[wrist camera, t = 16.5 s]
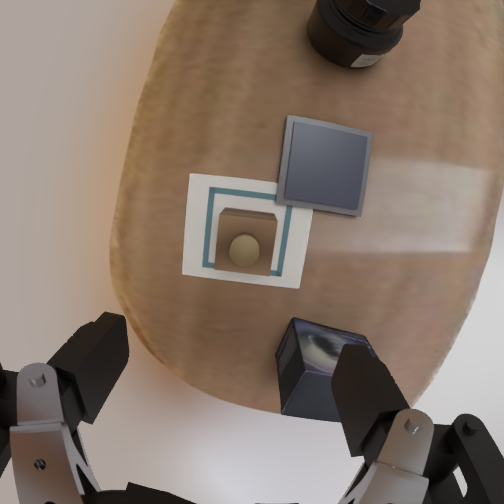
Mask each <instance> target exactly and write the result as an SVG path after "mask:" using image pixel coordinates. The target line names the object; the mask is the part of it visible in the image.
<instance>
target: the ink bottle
mask: <svg viewBox="0 0 504 504" xmlns="http://www.w3.org/2000/svg"><path fill="white" fill-rule="evenodd" d="M420 1H421V0H317V1H316V3H315V6H314V9H313V11H312V14H311V16H310V19H309V22H308V26H307V33H308V38H309V40H310V43H311V44H312V46H313V47H314V48H315V50H316V51H317V52H318V53H319V54H320V55H322V56H323V57H324V58H326V59H327V60H329V61H331V62H332V63H335V64H337V65H339V66H342V67H346V68H350V69H362V68H366V67H369V66H371V65H372V64H374V63H376V62H377V61H378V60H379V59H380V58H382V57H383V56H384V55H385V54H386V53H388V52H389V51H390V50H391V49H392V48H393V47H395V46H396V45H397V44H398V42H399V41H400V39H401V37H402V34H403V24H404V23H405V22H406V21H407V20H408V19H409V18H411V17H412V16H413V15H414V14H415V13H416V12H417V11H418V10H419V9H420Z"/></svg>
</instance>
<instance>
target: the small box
mask: <svg viewBox="0 0 504 504" xmlns="http://www.w3.org/2000/svg"><path fill="white" fill-rule="evenodd" d="M346 343H349V344H365V345H366V346H367V348H368V350H369V351H370V353H371V355H372V357H377V358H378V356H377V355H376V353H375V351H374V350H373V348H372V347H371V345H370V343H369V342H368V340H367V338H366V337H365V336H363V335H359V334H355V333H351V332H347V331H343V330H339V329H335V328H331V327H327V326H324V325H320V324H316V323H312V322H309V321H305V320H302V319H298V318H295V317H293V318H292V320H291V322H290V324H289V326H288V328H287V331H286V333H285V335H284V337H283V339H282V342H281V344H280V346H279V348H278V350H277V352H276V355H275V357H276V362H277V371H278V381H279V391H280V400H281V402H280V403H281V414H282V415H287V416H293V417H300V418H307V419H314V420H322V421H331V422H341V420H340V417H339V413H338V410H337V407H336V403H335V400H334V397H333V394H332V390H331V380H332V375H333V372H334V370H335V367H336V364H337V361H338V358H339V356H340V353H341V350H342V347H343V345H344V344H346ZM378 359H379V358H378Z"/></svg>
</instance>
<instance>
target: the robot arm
mask: <svg viewBox="0 0 504 504" xmlns="http://www.w3.org/2000/svg"><path fill="white" fill-rule="evenodd" d="M128 357H129V345H128V336H127V327H126V319H125V317H124V316H123V315H119V314H114V313H109V312H104V313H103V314H102V315H101V316H100V317H99V318H98V319H97V320H96V321H95V322H89V323H88V324H85V325H83V326H81V327H80V328H79V329H78V330H77V331H76V332H75V333H74V334H73V336H71V337H70V338H69V339H68V341H67V343H65V344H64V345H63V346H62V347H61V348H60V349H59V350H58V351H57V352H56V353H55V354H54V355H53V357H52V358H51V359H50V360H49V361H48V362H47V363H46V364H44V363H33V364H30V365H27V366H25V367H24V368H23V369H21V371H20V372H14V371H8V370H3V368H2V366H1V363H0V477H1V475H2V473H3V471H4V469H5V468H6V466H7V464H8V462H9V460H10V458H11V456H12V464H13V470H14V477H15V483H16V488H17V493H18V498H19V502H20V504H196V503H193V502H191V501H188V500H185V499H183V498H181V497H178V496H176V495H173V494H171V493H169V492H165V491H160V490H156V489H152V488H148V487H145V486H141V485H137V484H134V483H131V482H128V485H127V488H126V490H105V491H101V489H100V487H99V485H98V483H97V481H96V479H95V477H94V475H93V472H92V470H91V467H90V464H89V462H88V458H87V455H86V452H85V449H84V446H83V442H82V439H81V436H80V432H79V429H78V427H77V426H78V425H79V423H80V421H81V420H82V421H84V422H86V423H89V424H93V423H94V421H95V419H96V417H97V415H98V413H99V412H100V410H101V408H102V406H103V404H104V403H105V401H106V399H107V397H108V395H109V394H110V392H111V390H112V389H113V387H114V385H115V383H116V382H117V380H118V378H119V377H120V375H121V373H122V371H123V370H124V368H125V366H126V365H127V362H128ZM331 390H332V394H333V397H334V400H335V403H336V407H337V410H338V413H339V417H340V420H341V423H342V427H343V430H344V433H345V437H346V440H347V444H348V447H349V451H350V454H351V457H356V456H364V459H365V461H364V463H363V464H362V465H361V467H360V469H359V471H358V473H357V474H356V476H355V478H354V479H353V481H352V483H351V484H350V486H349V487H348V489H347V491H346V492H345V494H344V495H343V497H342V499H341V500H340V501H339V503H338V504H504V458H503V456H502V454H501V452H500V451H499V449H498V447H497V445H496V444H495V442H494V440H493V439H492V437H491V435H490V434H489V432H488V430H487V429H486V427H485V425H484V424H483V422H482V421H481V420H480V419H479V418H477V417H475V416H474V415H471V414H461V415H459V416H458V417H457V418H456V419H455V420H454V422H453V423H452V425H441V424H433V422H432V420H431V418H430V417H429V416H428V415H427V414H425V413H423V412H422V411H419V410H416V409H410V407H409V405H408V403H407V401H406V400H405V398H404V396H403V394H402V393H401V391H400V389H399V387H398V386H397V384H396V383H395V380H394V379H393V377H392V376H391V374H390V372H389V370H388V368H387V367H386V365H385V364H384V363H383V362H381V361H380V360H379V359H378V358H377V357H372V355H371V353H370V351H369V350H368V348H367V346H366V345H365V344H349V343H346V344H344V345H343V347H342V350H341V353H340V356H339V358H338V361H337V364H336V367H335V370H334V372H333V375H332V380H331ZM458 466H459V467H460V469H461V472H462V474H463V476H464V478H465V481H466V483H467V487H468V488H467V493H466V495H465V497H464V498H463V495H462V493H461V490H460V488H459V485H458V483H457V480H456V478H455V476H454V474H453V471H454V470H455V469H456V468H457V467H458ZM291 504H292V503H291ZM293 504H299V503H293Z"/></svg>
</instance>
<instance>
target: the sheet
mask: <svg viewBox="0 0 504 504" xmlns="http://www.w3.org/2000/svg"><path fill="white" fill-rule="evenodd" d="M277 186H278V183H275V182H267V181H260V180H252V179H244V178H235V177H226V176H216V175H206V174H195V173H190V178H189V187H188V198H187V209H186V221H185V234H184V249H183V267H182V274H183V275H190V276H198V277H205V278H213V279H220V280H228V281H236V282H244V283H252V284H261V285H269V286H278V287H287V288H297V289H299V287H300V281H301V276H302V271H303V266H304V260H305V255H306V249H307V244H308V238H309V232H310V226H311V220H312V214H313V209H311V208H305V207H298V206H291V205H284V204H277V203H275V201H276V193H277ZM225 207H228V208H236V209H244V210H252V211H260V212H268V213H274V214H275V216H276V218H277V221H278V224H277V231H276V238H275V244H274V251H273V258H272V264H271V271H270V276H261V275H253V274H245V273H237V272H229V271H221V270H214V263H215V252H216V242H217V232H218V222H219V214H220V213H221V212H222V210H223V209H224V208H225Z"/></svg>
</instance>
